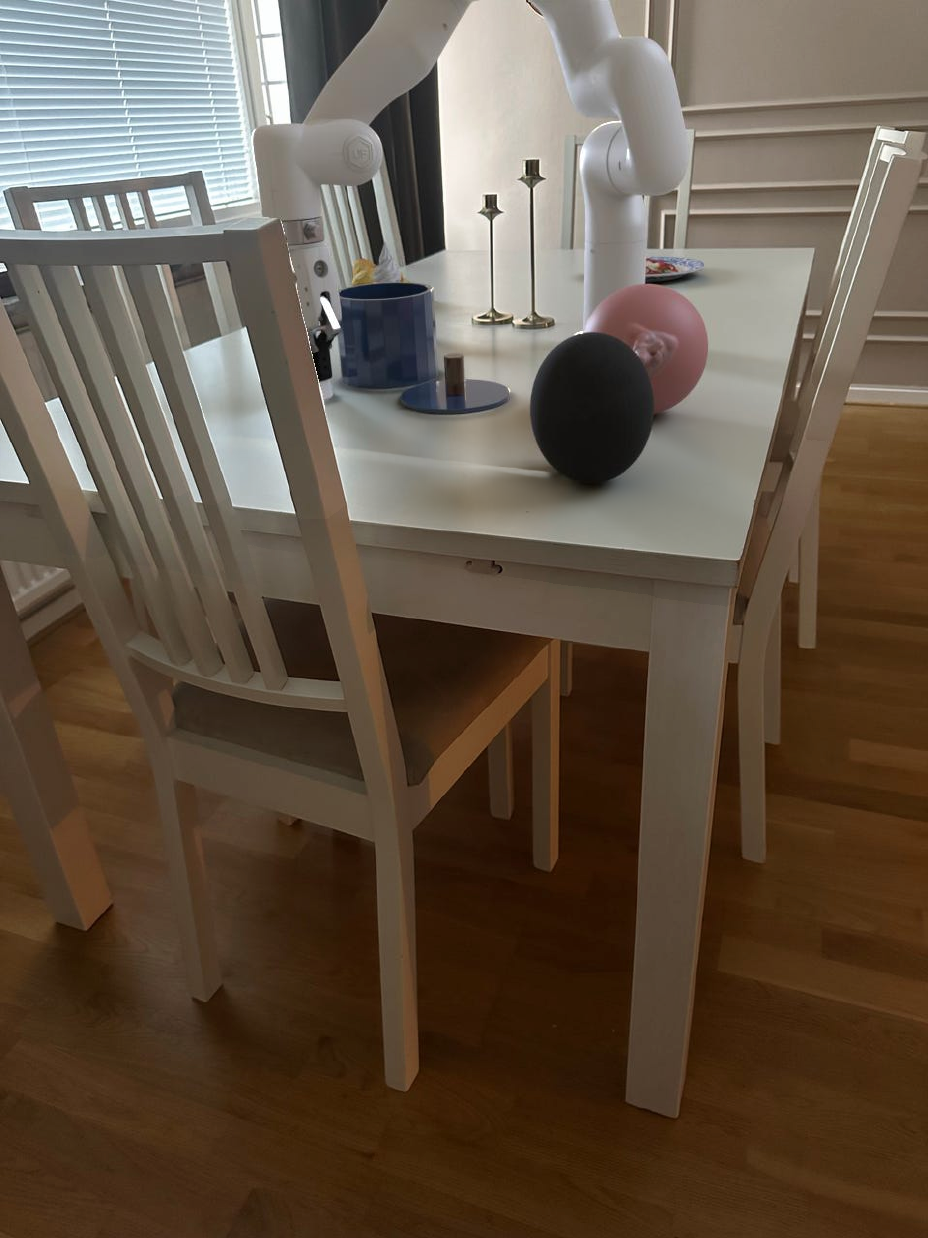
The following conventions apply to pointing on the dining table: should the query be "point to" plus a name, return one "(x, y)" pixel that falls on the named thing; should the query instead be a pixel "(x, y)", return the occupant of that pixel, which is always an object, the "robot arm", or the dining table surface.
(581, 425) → the decorative egg
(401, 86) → the robot arm
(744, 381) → the dining table surface
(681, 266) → the ceramic plate
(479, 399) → the lid
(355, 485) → the dining table surface
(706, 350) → the balloon
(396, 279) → the ice cream cone
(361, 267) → the bread roll
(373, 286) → the pot
